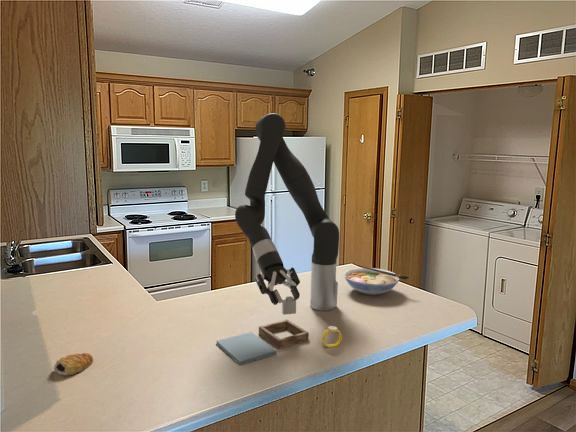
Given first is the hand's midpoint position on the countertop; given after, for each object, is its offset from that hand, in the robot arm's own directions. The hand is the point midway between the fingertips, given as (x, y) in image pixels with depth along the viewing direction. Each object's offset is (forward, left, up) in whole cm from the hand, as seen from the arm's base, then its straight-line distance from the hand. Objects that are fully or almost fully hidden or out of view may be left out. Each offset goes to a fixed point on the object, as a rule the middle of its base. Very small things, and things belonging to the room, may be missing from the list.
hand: (287, 301), depth 135 cm
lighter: (0, -2, -5) cm, 5 cm away
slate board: (+14, 0, -12) cm, 19 cm away
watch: (-9, +12, -12) cm, 19 cm away
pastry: (+59, -15, -13) cm, 62 cm away
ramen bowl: (-54, -18, -12) cm, 58 cm away
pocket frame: (0, -1, -12) cm, 12 cm away
